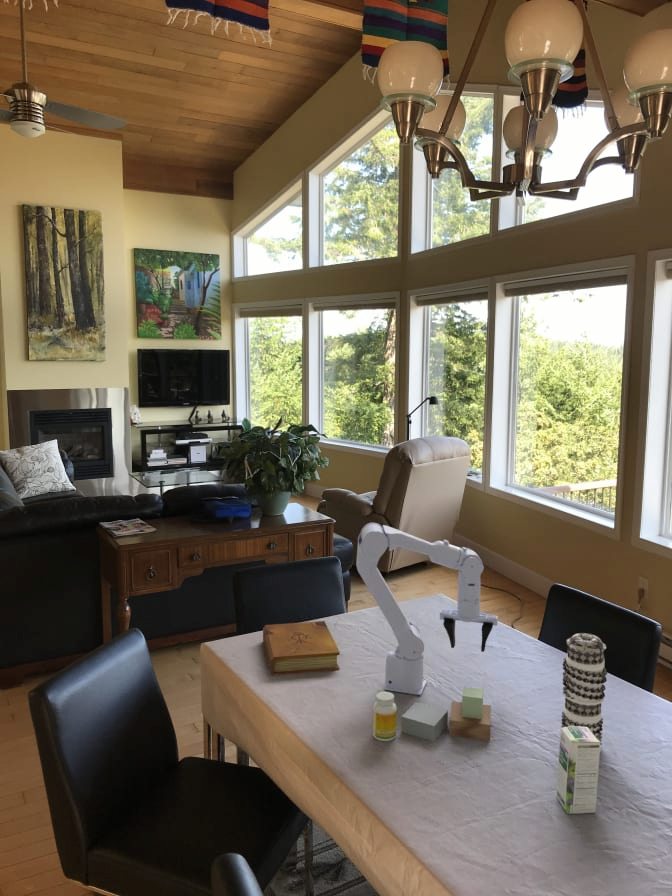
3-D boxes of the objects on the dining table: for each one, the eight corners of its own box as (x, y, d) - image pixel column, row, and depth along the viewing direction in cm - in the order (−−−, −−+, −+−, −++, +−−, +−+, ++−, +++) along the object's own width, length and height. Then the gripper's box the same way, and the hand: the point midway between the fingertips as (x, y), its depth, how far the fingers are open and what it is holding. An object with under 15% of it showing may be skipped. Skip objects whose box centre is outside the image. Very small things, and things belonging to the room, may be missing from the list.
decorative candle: (550, 743, 156) (555, 635, 153) (574, 730, 161) (580, 626, 158) (586, 762, 149) (592, 649, 145) (611, 748, 154) (617, 639, 151)
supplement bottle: (368, 732, 160) (368, 692, 159) (388, 727, 162) (389, 688, 161) (379, 744, 155) (380, 703, 154) (400, 738, 158) (401, 698, 156)
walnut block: (449, 736, 159) (449, 720, 159) (451, 717, 168) (452, 701, 167) (489, 741, 157) (490, 724, 157) (490, 721, 166) (490, 705, 165)
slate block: (401, 732, 161) (401, 716, 160) (415, 717, 167) (416, 701, 167) (433, 742, 157) (434, 725, 156) (447, 726, 163) (447, 710, 163)
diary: (263, 643, 211) (262, 625, 210) (324, 639, 215) (324, 620, 214) (271, 677, 189) (271, 656, 188) (339, 671, 192) (339, 651, 192)
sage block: (461, 716, 160) (462, 695, 160) (463, 707, 165) (463, 686, 164) (481, 719, 159) (482, 698, 159) (482, 709, 164) (483, 689, 163)
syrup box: (555, 796, 137) (558, 726, 135) (584, 794, 138) (588, 725, 136) (567, 815, 132) (570, 742, 130) (597, 813, 132) (601, 741, 130)
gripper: (437, 599, 178) (437, 650, 180) (496, 605, 174) (495, 658, 175) (442, 590, 185) (442, 640, 186) (499, 596, 180) (497, 647, 182)
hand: (467, 648), depth 181 cm, fingers open, 7 cm apart
